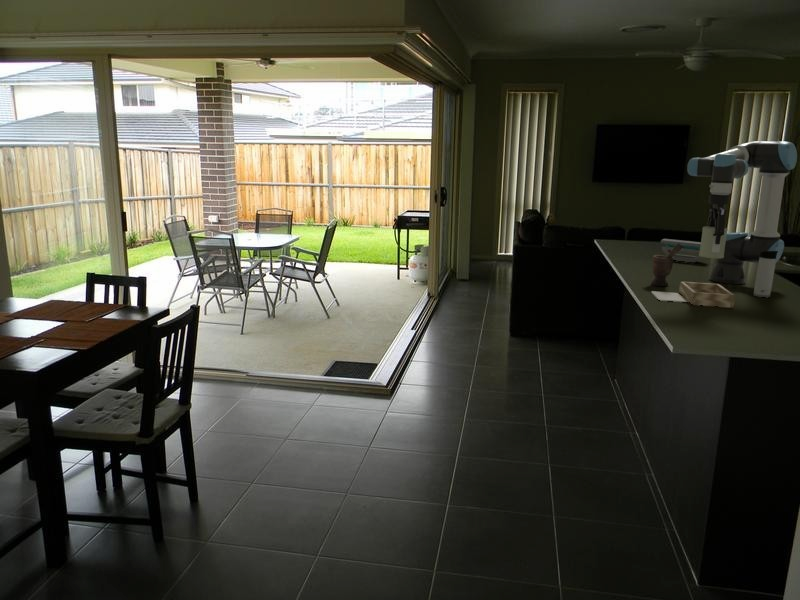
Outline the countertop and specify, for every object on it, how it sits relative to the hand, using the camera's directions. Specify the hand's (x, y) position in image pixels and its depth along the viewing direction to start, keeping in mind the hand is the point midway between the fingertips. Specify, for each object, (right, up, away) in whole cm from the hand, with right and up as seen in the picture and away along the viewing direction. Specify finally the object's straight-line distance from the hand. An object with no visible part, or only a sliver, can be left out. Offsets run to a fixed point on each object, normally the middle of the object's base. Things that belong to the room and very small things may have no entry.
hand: (712, 250), depth 262 cm
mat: (-15, -19, +7) cm, 25 cm away
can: (0, -3, +1) cm, 3 cm away
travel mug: (+29, -19, +15) cm, 38 cm away
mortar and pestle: (-7, -14, +32) cm, 35 cm away
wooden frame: (-1, -20, +5) cm, 21 cm away
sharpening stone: (+33, +2, +102) cm, 107 cm away
